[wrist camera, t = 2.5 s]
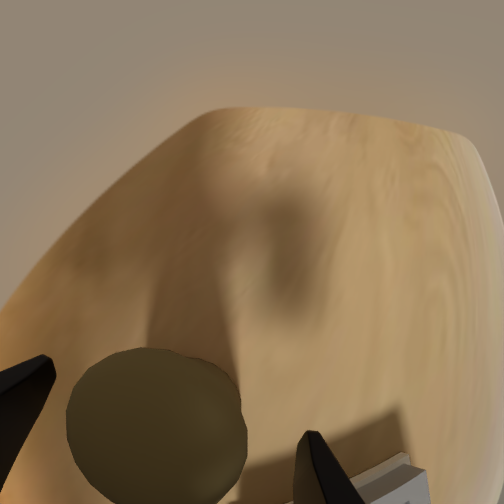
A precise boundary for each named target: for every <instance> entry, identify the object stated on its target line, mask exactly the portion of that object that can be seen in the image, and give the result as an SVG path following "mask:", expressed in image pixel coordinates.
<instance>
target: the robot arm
mask: <svg viewBox="0 0 504 504" xmlns="http://www.w3.org/2000/svg"><path fill="white" fill-rule="evenodd" d="M55 380H56V370H55V367H54V363H53V360H52V359H51V358H50V357H48V356H46V355H43V354H42V355H39V356H37V357H34V358H32V359H30V360H27V361H25V362H22V363H20V364H18V365H15V366H13V367H10V368H8V369H6V370H3V371H1V372H0V492H1V490H2V488H3V485H4V483H5V481H6V478H7V476H8V474H9V472H10V470H11V468H12V466H13V464H14V462H15V460H16V458H17V456H18V454H19V452H20V450H21V448H22V446H23V444H24V442H25V440H26V438H27V436H28V434H29V433H30V431H31V429H32V427H33V425H34V423H35V422H36V420H37V418H38V416H39V415H40V413H41V411H42V409H43V407H44V404H45V402H46V400H47V398H48V395H49V393H50V391H51V389H52V386H53V384H54V382H55ZM293 504H365V502H364V501H363V499H362V498H361V496H360V495H359V493H358V492H357V490H356V489H355V487H354V485H353V484H352V482H351V481H350V479H349V478H348V476H347V475H346V473H345V472H344V470H343V469H342V467H341V466H340V464H339V462H338V461H337V459H336V458H335V456H334V455H333V453H332V451H331V450H330V448H329V447H328V445H327V444H326V442H325V440H324V439H323V437H322V436H321V434H320V433H319V432H318V431H311V430H307V431H306V432H305V433H304V435H303V436H302V438H301V439H300V441H299V443H298V445H297V452H296V462H295V472H294V481H293Z"/></svg>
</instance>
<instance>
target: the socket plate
mask: <svg viewBox="0 0 504 504" xmlns="http://www.w3.org/2000/svg"><path fill="white" fill-rule="evenodd" d="M350 481H351V482H352V484H353V485H354V487H355V489H356V490H357V492H358V493H359V495H360V496H361V498H362V499H363V501H364V502H365V504H431V502H430V494H429V487H428V480H427V474H426V470H424V469H420V468H417V467H414V466H411V463H410V458H409V454H407V453H403V452H400V453H398V454H396V455H395V456H393V457H391V458H389V459H388V460H386V461H384V462H382V463H380V464H378V465H377V466H375V467H373V468H371V469H369V470H367V471H365V472H363V473H361V474H359V475H357V476H354V477H352V478H350ZM284 504H293V501H291V502H288V503H284Z"/></svg>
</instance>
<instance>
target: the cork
mask: <svg viewBox="0 0 504 504" xmlns="http://www.w3.org/2000/svg"><path fill="white" fill-rule="evenodd" d="M66 428H67V440H68V443H69V446H70V449H71V452H72V455H73V458H74V460H75V463H76V464H77V466H78V467H79V469H80V470H81V472H82V473H83V475H84V476H85V477H86V479H87V480H88V482H89V483H90V484H91V485H92V486H93V487H94V488H95V489H97V490H98V491H99V492H100V493H101V494H103V495H104V496H105V497H106V498H107V499H109V500H110V501H111V502H113V503H115V504H217V503H218V502H219V501H220V500H221V499H222V498H223V497H224V496H225V495H226V493H227V492H228V491H229V490H230V489H231V488H232V487H233V486H234V485H235V484H236V482H237V481H238V479H239V477H240V474H241V472H242V469H243V467H244V464H245V461H246V459H247V427H246V424H245V421H244V419H243V416H242V413H241V399H240V396H239V393H238V390H237V387H236V386H235V384H234V383H233V382H232V380H231V379H230V378H229V376H228V375H227V374H226V373H225V372H224V371H222V370H221V369H220V368H218V367H217V366H216V365H214V364H212V363H209V362H206V361H204V360H201V359H197V358H187V357H185V356H182V355H180V354H177V353H175V352H172V351H170V350H162V349H151V348H141V347H140V348H136V349H131V350H127V351H122V352H117V353H114V354H112V355H110V356H108V357H106V358H105V359H103V360H102V361H100V362H98V363H97V364H95V365H93V366H92V367H90V368H88V370H87V371H86V372H85V373H84V375H83V376H82V377H81V379H80V380H79V381H78V382H77V384H76V385H75V386H74V388H73V391H72V394H71V397H70V400H69V403H68V406H67V410H66Z"/></svg>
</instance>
